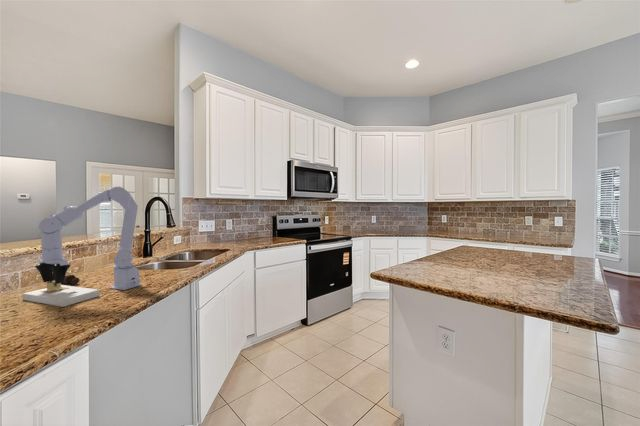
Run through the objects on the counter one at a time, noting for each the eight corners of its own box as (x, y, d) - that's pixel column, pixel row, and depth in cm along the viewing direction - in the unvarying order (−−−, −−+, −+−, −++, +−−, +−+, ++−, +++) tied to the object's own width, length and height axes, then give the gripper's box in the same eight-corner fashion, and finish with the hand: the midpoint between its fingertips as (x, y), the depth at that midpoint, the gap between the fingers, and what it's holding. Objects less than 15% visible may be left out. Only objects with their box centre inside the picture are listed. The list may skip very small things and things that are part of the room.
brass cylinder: (63, 295, 109) (63, 280, 109) (51, 298, 105) (50, 283, 105) (57, 294, 110) (56, 279, 110) (44, 297, 106) (44, 282, 106)
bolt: (74, 289, 123) (53, 285, 128) (85, 281, 127) (64, 278, 132) (66, 280, 120) (45, 276, 125) (77, 272, 124) (57, 269, 129)
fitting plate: (99, 295, 108) (99, 289, 107) (62, 306, 96) (62, 299, 96) (61, 290, 115) (60, 284, 115) (22, 299, 104) (22, 292, 104)
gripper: (27, 249, 105) (28, 283, 106) (50, 250, 101) (52, 286, 101) (50, 246, 112) (51, 278, 112) (73, 247, 107) (74, 281, 108)
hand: (53, 282), depth 107 cm, fingers open, 7 cm apart
